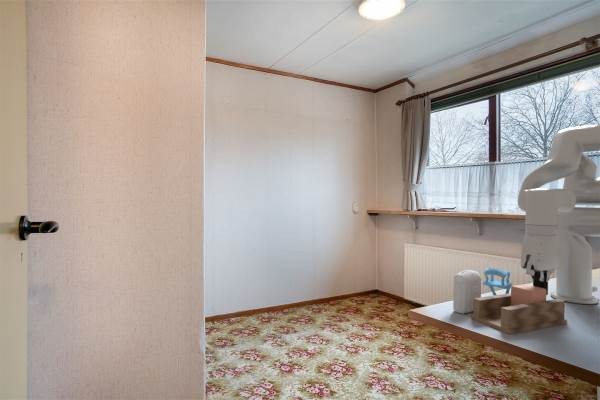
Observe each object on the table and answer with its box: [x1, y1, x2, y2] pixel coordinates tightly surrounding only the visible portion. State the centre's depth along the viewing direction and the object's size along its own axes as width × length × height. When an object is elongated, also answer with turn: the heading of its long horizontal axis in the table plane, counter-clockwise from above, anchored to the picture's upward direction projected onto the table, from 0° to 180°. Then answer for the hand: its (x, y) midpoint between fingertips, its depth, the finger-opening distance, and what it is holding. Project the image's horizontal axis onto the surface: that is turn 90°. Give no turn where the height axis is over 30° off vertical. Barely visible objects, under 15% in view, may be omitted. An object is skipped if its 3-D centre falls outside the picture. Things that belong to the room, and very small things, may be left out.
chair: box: [482, 267, 513, 296], centre depth 109 cm, size 8×8×12 cm
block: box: [510, 283, 547, 306], centre depth 96 cm, size 6×6×8 cm
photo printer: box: [452, 269, 482, 314], centre depth 103 cm, size 10×4×12 cm, turn 123°
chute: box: [470, 292, 568, 335], centre depth 94 cm, size 22×12×6 cm, turn 111°
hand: (540, 293), depth 97 cm, fingers closed
